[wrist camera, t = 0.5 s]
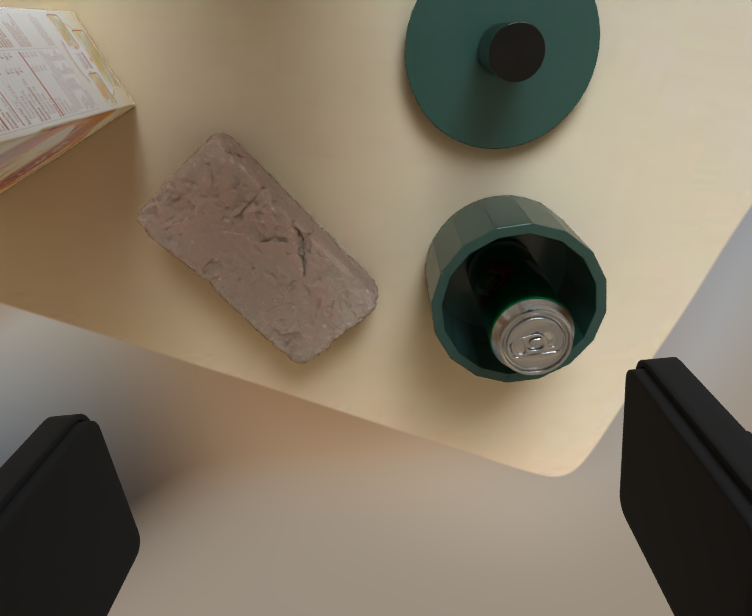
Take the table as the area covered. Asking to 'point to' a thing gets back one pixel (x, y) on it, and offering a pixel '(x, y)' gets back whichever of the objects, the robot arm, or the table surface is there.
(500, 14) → the pot lid
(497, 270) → the soda can
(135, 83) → the table surface
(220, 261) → the brick
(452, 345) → the pot
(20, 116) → the coffeecake box
